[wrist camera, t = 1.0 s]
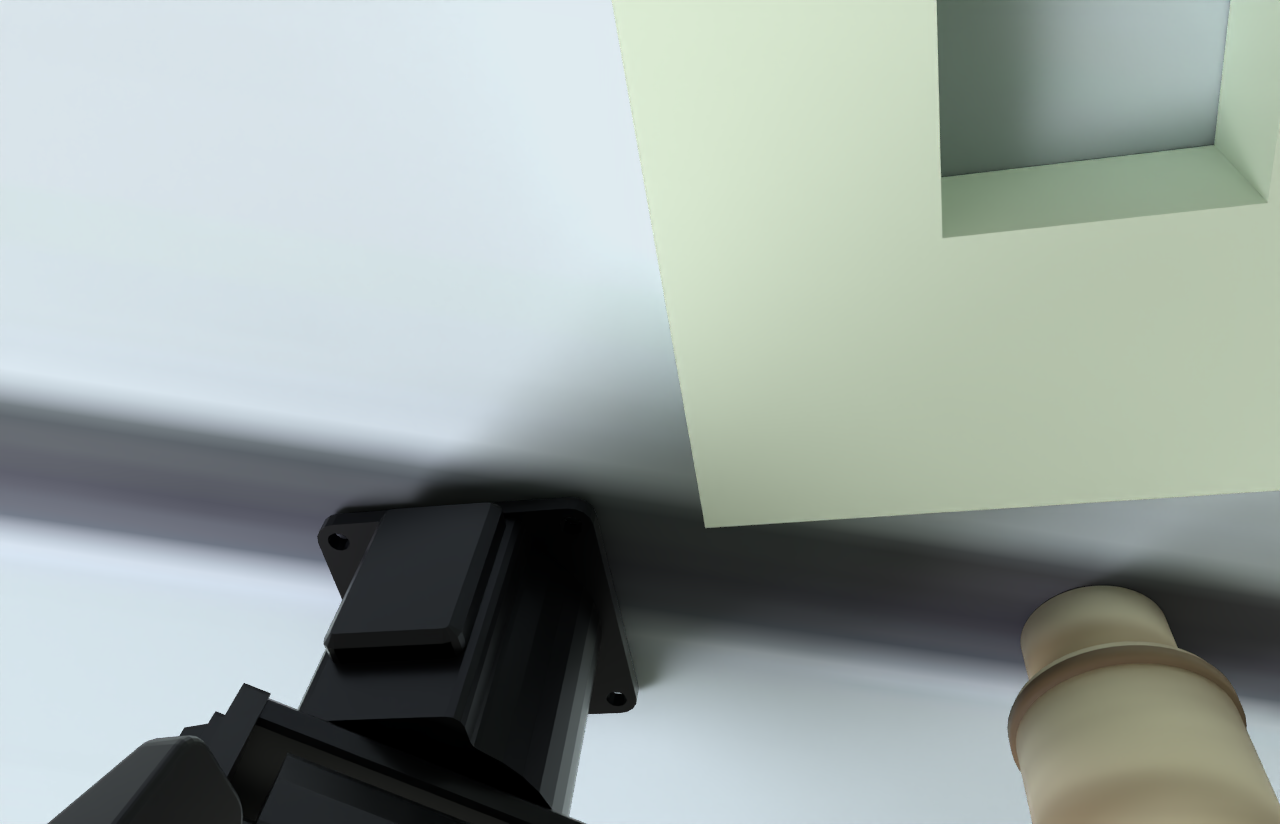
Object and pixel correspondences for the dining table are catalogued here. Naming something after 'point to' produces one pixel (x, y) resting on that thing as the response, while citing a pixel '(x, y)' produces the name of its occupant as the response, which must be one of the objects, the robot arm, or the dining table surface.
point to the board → (945, 276)
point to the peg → (1129, 721)
